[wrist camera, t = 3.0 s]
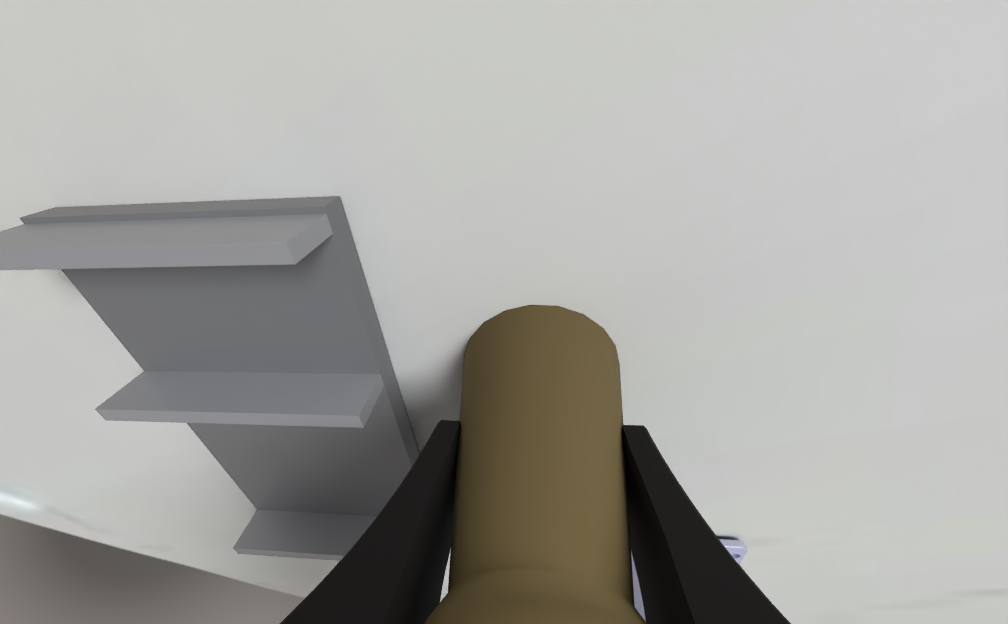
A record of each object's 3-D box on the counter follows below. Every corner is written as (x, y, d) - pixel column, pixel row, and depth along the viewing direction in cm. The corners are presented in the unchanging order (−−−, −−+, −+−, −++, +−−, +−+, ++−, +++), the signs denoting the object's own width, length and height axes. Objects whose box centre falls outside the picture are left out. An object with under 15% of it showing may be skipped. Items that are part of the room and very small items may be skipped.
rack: (436, 510, 21) (422, 569, 19) (275, 501, 22) (241, 556, 20) (339, 196, 11) (282, 234, 9) (54, 207, 12) (-70, 244, 10)
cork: (506, 433, 17) (464, 869, 8) (434, 337, 14) (236, 846, 5) (638, 399, 15) (791, 924, 6) (587, 280, 12) (727, 937, 3)
